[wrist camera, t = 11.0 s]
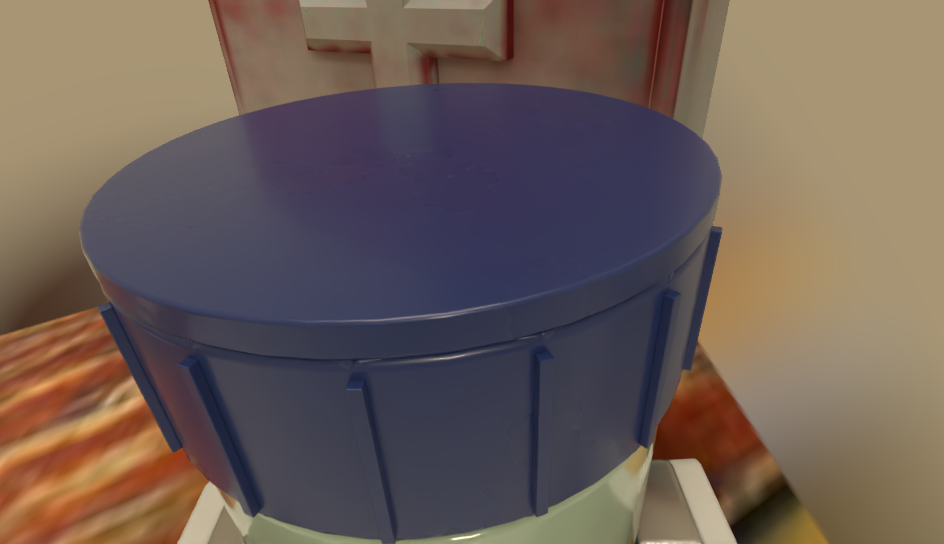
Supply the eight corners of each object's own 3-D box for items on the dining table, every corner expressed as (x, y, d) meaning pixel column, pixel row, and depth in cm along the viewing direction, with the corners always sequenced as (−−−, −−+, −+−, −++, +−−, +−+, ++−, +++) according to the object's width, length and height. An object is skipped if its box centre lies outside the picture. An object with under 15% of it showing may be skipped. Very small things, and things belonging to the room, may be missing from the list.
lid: (580, 195, 10) (588, 68, 8) (819, 475, 5) (923, 251, 3) (232, 235, 9) (189, 103, 8) (51, 620, 4) (-150, 401, 3)
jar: (555, 533, 15) (580, 96, 9) (646, 819, 10) (862, 293, 4) (346, 573, 14) (206, 131, 8) (334, 900, 9) (-55, 428, 3)
